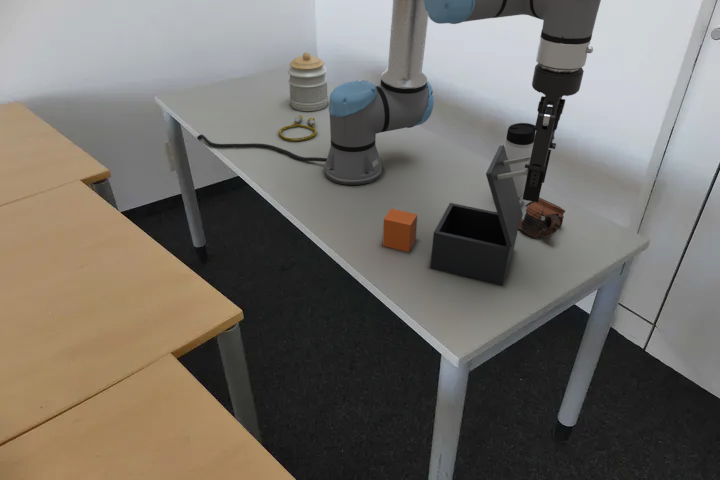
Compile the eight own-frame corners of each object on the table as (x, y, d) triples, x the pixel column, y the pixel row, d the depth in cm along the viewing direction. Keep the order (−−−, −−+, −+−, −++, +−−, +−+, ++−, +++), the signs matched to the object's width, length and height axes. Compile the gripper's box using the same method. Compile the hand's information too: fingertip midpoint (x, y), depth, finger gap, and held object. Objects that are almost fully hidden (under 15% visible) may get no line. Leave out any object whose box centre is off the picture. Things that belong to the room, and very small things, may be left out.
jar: (296, 96, 192) (293, 45, 182) (332, 99, 190) (330, 47, 180) (285, 110, 182) (280, 57, 172) (322, 113, 180) (320, 59, 169)
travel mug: (523, 210, 130) (539, 132, 118) (495, 207, 131) (508, 130, 120) (522, 197, 135) (537, 121, 123) (495, 194, 136) (508, 119, 125)
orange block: (382, 246, 118) (383, 219, 114) (390, 235, 122) (391, 208, 118) (409, 252, 116) (410, 225, 112) (415, 240, 120) (417, 214, 116)
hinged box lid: (485, 173, 96) (529, 165, 92) (499, 145, 105) (540, 137, 101) (507, 247, 102) (549, 243, 98) (518, 215, 111) (557, 209, 107)
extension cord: (331, 127, 170) (331, 121, 169) (300, 145, 160) (299, 139, 158) (301, 119, 176) (300, 113, 175) (268, 136, 165) (268, 129, 164)
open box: (430, 268, 112) (433, 232, 107) (446, 236, 121) (450, 202, 116) (502, 286, 107) (509, 249, 102) (513, 251, 116) (520, 216, 111)
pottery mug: (507, 222, 126) (524, 190, 124) (539, 235, 129) (556, 204, 127) (533, 240, 115) (552, 205, 113) (567, 253, 118) (586, 219, 116)
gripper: (578, 88, 78) (547, 221, 92) (589, 51, 93) (560, 170, 107) (525, 81, 81) (502, 212, 94) (544, 46, 96) (522, 163, 109)
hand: (533, 189), depth 100 cm, fingers closed on hinged box lid, 7 cm apart
